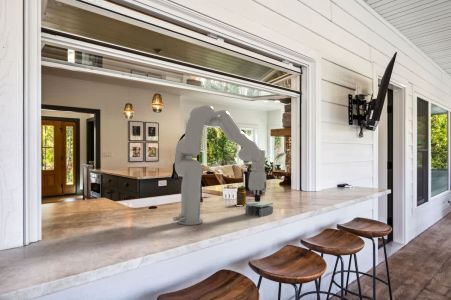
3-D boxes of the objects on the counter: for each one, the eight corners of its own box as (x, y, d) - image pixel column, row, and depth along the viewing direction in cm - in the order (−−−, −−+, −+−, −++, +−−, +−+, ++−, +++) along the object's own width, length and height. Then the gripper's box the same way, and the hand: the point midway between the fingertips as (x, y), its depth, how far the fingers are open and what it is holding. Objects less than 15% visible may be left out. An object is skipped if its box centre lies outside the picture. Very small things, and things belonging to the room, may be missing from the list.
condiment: (248, 205, 196) (248, 187, 196) (239, 207, 190) (239, 188, 190) (240, 204, 201) (240, 186, 201) (231, 205, 195) (231, 187, 196)
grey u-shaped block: (261, 216, 162) (261, 207, 162) (245, 213, 169) (245, 205, 169) (272, 213, 171) (273, 204, 171) (257, 210, 178) (257, 202, 178)
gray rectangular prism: (255, 215, 166) (255, 207, 166) (252, 214, 169) (252, 206, 169) (266, 213, 170) (266, 205, 170) (262, 212, 173) (262, 205, 173)
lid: (261, 207, 162) (261, 205, 162) (245, 204, 169) (245, 203, 169) (273, 204, 171) (273, 202, 171) (257, 202, 178) (257, 200, 178)
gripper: (243, 169, 172) (243, 200, 172) (265, 170, 162) (264, 204, 162) (251, 169, 178) (250, 199, 177) (272, 170, 168) (271, 202, 167)
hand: (257, 201), depth 169 cm, fingers closed
